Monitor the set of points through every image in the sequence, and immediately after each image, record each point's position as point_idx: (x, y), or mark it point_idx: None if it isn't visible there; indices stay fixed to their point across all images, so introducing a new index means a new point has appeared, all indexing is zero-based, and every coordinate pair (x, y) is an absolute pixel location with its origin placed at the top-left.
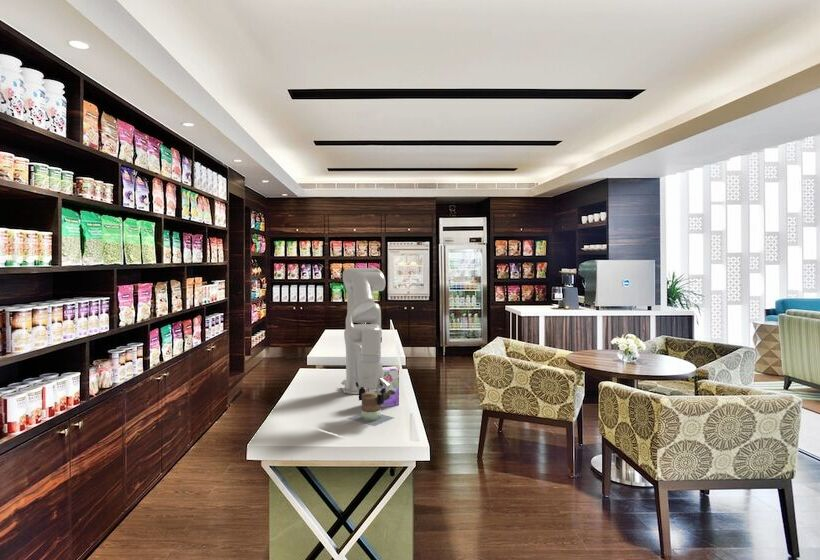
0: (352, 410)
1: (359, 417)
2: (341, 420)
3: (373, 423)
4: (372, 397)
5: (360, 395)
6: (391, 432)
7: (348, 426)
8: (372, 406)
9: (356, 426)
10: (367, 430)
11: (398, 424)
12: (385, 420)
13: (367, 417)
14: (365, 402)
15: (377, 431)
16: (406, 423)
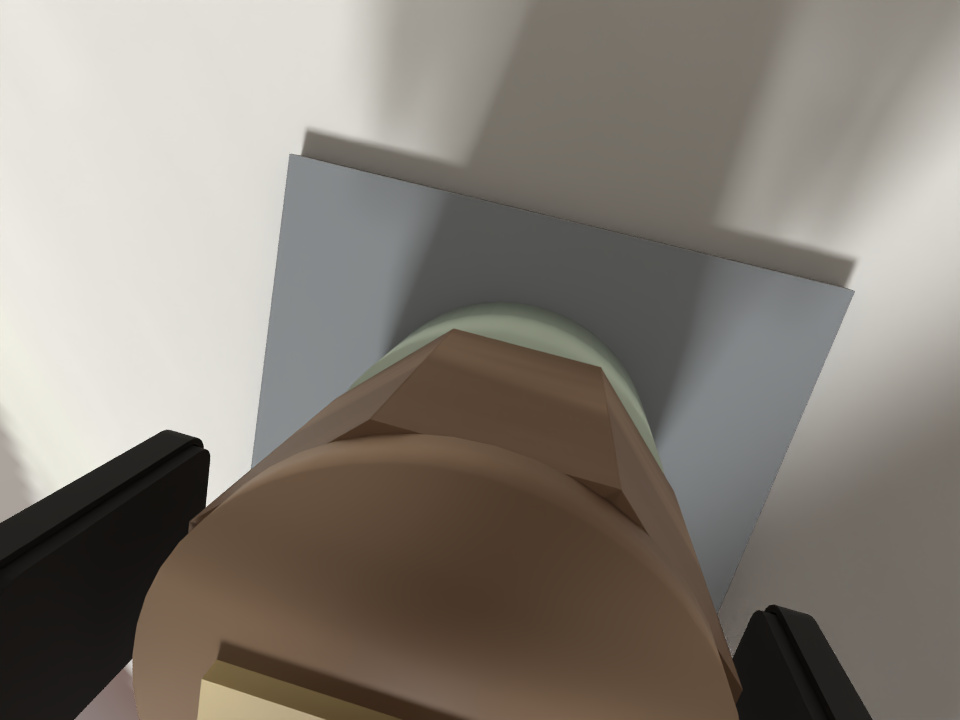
0: (946, 680)
1: (678, 402)
2: (941, 228)
3: (357, 249)
4: (219, 512)
5: (803, 716)
6: (22, 95)
7: (689, 17)
8: (340, 410)
9: (564, 82)
10: (326, 2)
11: (117, 395)
12: (280, 421)
13: (476, 313)
14: (480, 402)
15: (186, 38)
16: (65, 458)
